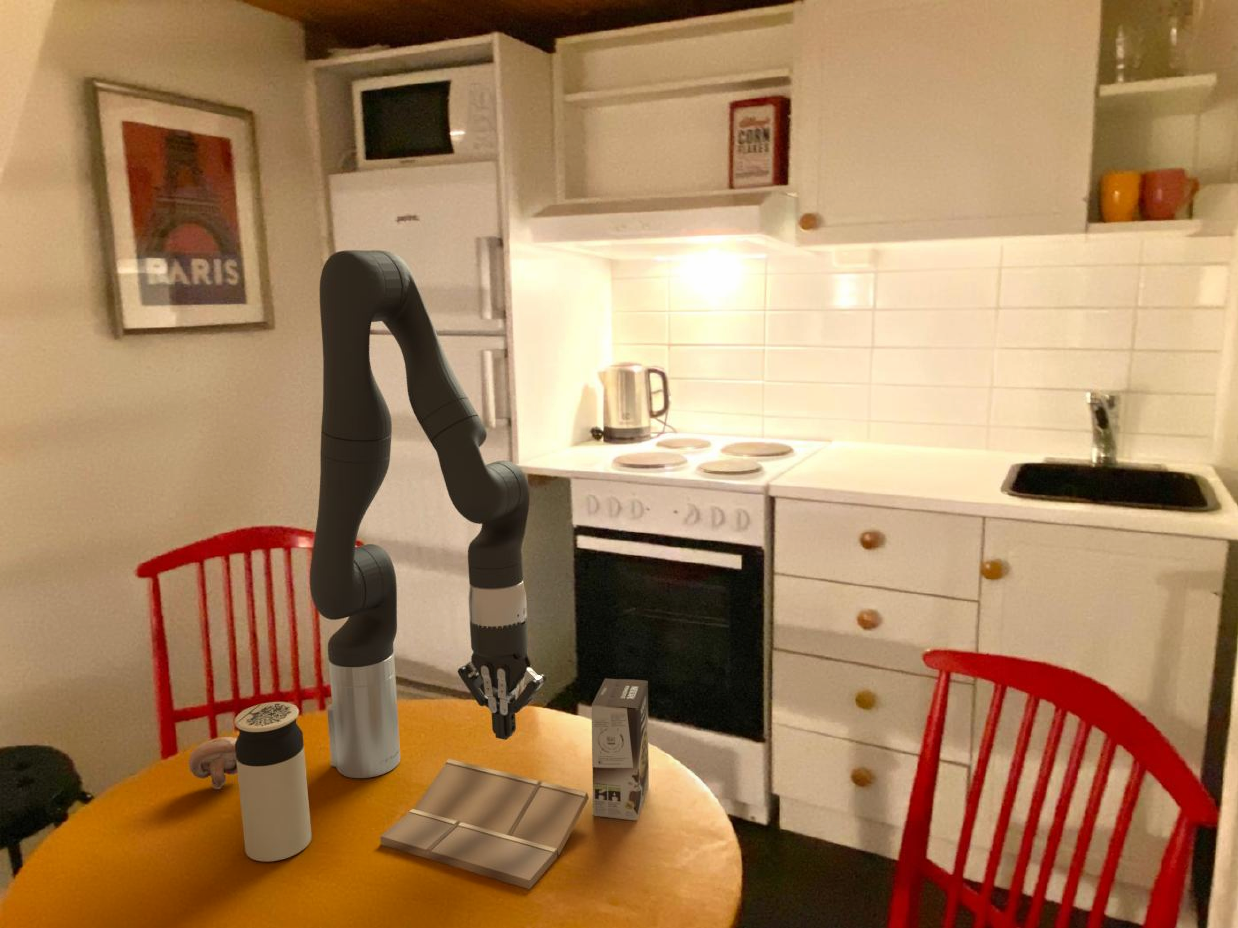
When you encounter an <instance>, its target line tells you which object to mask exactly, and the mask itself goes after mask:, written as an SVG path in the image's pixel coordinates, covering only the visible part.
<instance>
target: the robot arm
mask: <svg viewBox="0 0 1238 928" xmlns="http://www.w3.org/2000/svg"><path fill="white" fill-rule="evenodd" d="M319 279H320V280H319V311H320V314H319V315H320V324H321V339H322V356H323V357H322V359H323V360H322V361H323V362H322V363H323V368H322V370H323V371H322V373H323V374H322V375H323V377H322V378H323V379H322V385H323V386H322V390H323V391H322V413H321V414H322V416H321V426H320V427H321V428H320V429H321V430H320V432H321V433H320V452H319V453H320V455H319V456H320V457H319V458H320V460H319V461H320V463H319V464H320V474H319V475H320V476H319V493H318V494H319V495H318V509H317V518H316V525H315V526H316V528H315V533H314V540H313V548H312V552H311V553H312V554H311V560H310V568H309V588H310V595H311V599H312V603H313V605H314V608H316V610H317V612H318V613H319V614H320V615H321V616H322V617H324V618H325V619H328V620H330V621H331V620H333V621H335V620H342V619H345V618H347V619H346V621H345V622H344V623H343V624H342V626H341V627H340V628H338V629H337V631H335V632H334V633H333V634H332V635H331V636H330V638H329V639H328V643H327V658H328V669H329V672H328V673H329V680H330V681H329V682H330V683H329V684H330V695H331V703H330V704H328V706H327V708H326V713H327V714H326V715H327V724H328V725H327V726H328V736H329V738H328V739H329V748H330V749H329V750H330V751H329V752H330V764H331V766H332V767H334V768H336V769H337V771H338V773H340V775H343V776H344V777H348V778H354V779H369V778H373V777H378V776H381V775H384V774H386V773H388V772H390V771H392V770H394V769H395V768H396V767H397V766H398V765H399V764H400V762H401V748H400V747H401V746H400V727H399V713H398V712H399V711H398V700H397V699H398V698H397V695H398V694H397V683H396V668H395V665H396V664H395V651H394V642H395V639H396V635H397V634H398V633H397V632H398V587H397V586H398V585H397V576H396V571H395V566H394V564H393V561H392V559H391V557H390V555H389V554H388V552H387V551H386V550H385V549H384V548H383V547H381V546H379V545H378V544H373V543H367V544H362V545H359V546H356V544H357V538H358V533H359V530H360V526H361V523H362V521H363V520H364V517H365V515H366V513H367V511H368V509H369V507H370V506H371V504H372V502H373V501H374V499H375V497H376V496H377V493H378V492H379V491H380V488H381V486H382V484H383V482H384V480H385V478H386V475H387V474H388V470H389V466H390V462H391V448H392V447H391V446H392V433H393V429H392V424H393V422H392V417H391V413H390V409H389V407H388V404H387V401H386V400H385V398H384V395H383V393H382V391H381V389H380V386H379V385H378V383H377V381H376V379H375V376H374V374H373V369H372V366H371V360H370V358H371V357H370V344H371V343H370V342H371V341H370V340H371V339H370V338H371V337H370V336H371V328H372V323H376V322H377V323H378V322H382V324H384V326H385V327H386V328H387V329H388V330H389V332H390V333H391V335H392V337H394V339H395V341H396V342H397V344H398V346H399V349H400V352H401V354H402V357H403V362H404V368H405V375H406V376H405V378H406V388H407V396H408V400H409V403H410V406H411V409H412V412H413V414H414V417H415V418H416V420H417V421H418V423H419V425H420V426H421V428H422V430H423V432H424V434H425V436H426V437H427V439H428V441H429V442H430V443H431V445H432V447H433V448H434V450H435V451H436V453H437V454H436V455H437V458H438V463H439V465H440V466H439V467H440V471H441V475H442V477H443V481H444V483H445V487H446V490H447V493H448V494H447V495H448V496H449V499H450V501H451V503H452V505H453V506H454V509H456V510H457V512H458V513H459V514H460V515H461V516H462V517H463V518H464V519H466V520H467V521H468V522H471V523H473V524H476V525H481V528H480V531H479V533H478V534H477V535H476V537H474V538H473V539H472V540H471V541H470V543H469V545H468V549H467V564H468V565H467V567H468V582H469V583H468V585H469V587H468V615H469V632H470V633H469V634H470V635H469V636H470V647H471V650H472V651H473V652H472V655H471V657H470V660H471V661H469V662H467V663H465V664H464V665H463V666H461V667H459V668H457V674H458V676H459V677H460V679H461V680H462V682H463V684H464V685H465V687H466V688H467V689H468V691H469V692H470V694H471V695H472V696H473V698H474V700H475V701H476V702H477V705H479V706H480V707H486V708H488V710H489V712H491V724H492V725H491V727H492V732H493V734H494V735H495V738H496V739H500V740H504V741H506V740H508V739H509V738H510V737H511V736H513V734H514V733H515V732H516V729H517V727H516V723H517V722H516V714H518V712H520V711H521V710H522V709H524V708H525V707H527V706H528V705H529V703H530V702H531V701H532V699H534V697H535V696H536V694H537V693H538V691H540V689H541V688H542V687H543V686H544V684H545V683H546V681H547V677H546V675H545V674H543V673H540V674H538V673H536V672H535V670H533V668H532V665H531V664H532V662H531V659H530V658H529V655H528V648H529V630H528V607H527V594H526V589H525V584H524V583H525V582H524V567H523V553H522V551H523V543H524V537H525V534H526V530H527V529H526V527H527V522H528V518H529V517H528V516H529V510H530V501H531V498H530V497H531V493H530V487H529V486H530V485H529V482H528V479H527V477H526V475H525V473H524V471H523V470H522V469H521V467H520V466H519V465H518V464H516V463H514V462H513V461H509V460H499V461H498V460H497V461H493V462H491V463H488V464H486V463H485V460H484V459H483V456H482V452H481V449H480V447H482V445H483V444H484V443H485V442H486V440H487V436H488V435H487V430H486V428H485V425H484V423H483V421H482V419H481V417H479V414H478V412H477V411H476V409H475V408H474V406H473V404H472V402H471V401H470V399H469V397H468V396H467V394H466V393H465V391H464V390H463V389H464V388H463V387H462V385H461V384H460V382H459V380H458V378H457V377H456V374H455V373H454V370H453V369H452V366H451V365H450V363H449V360H448V358H447V357H446V353H445V352H444V351H445V350H444V349H443V347H442V344H441V342H440V339H439V336H438V335H437V331H436V329H435V326H434V323H433V321H432V318H431V317H430V315H429V313H428V308H427V306H426V304H425V301H424V299H423V297H422V293H421V292H420V289H419V287H418V285H417V282H416V279H415V277H414V275H413V273H412V271H411V269H410V268H409V266H408V265H407V263H406V262H405V261H404V260H403V258H402V257H400V256H398V254H396V253H394V252H391V251H389V250H388V251H386V250H378V249H377V250H374V249H373V250H357V249H356V250H355V249H353V250H347V249H346V250H340V251H336V252H334V253H333V254H332V255H330V256H329V257H328V259H326V260H325V263H324V265H323V267H322V269H321V274H320V278H319ZM523 679H524V681H523ZM521 681H523V687H524V689H523V690H522V691H521V693H520V694H519V695H518V693H519V691H520V683H521Z"/></svg>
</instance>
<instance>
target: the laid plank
mask: <svg viewBox="0 0 1238 928" xmlns="http://www.w3.org/2000/svg"><path fill="white" fill-rule="evenodd" d="M380 845H382V846H384V847H387V848H391V849H394V850H398V851H401V852H404V853H408V854H412V855H415V856H418V857H422V858H424V859H428V860H431V861H435V862H437V863H441V864H445V865H448V866H451V867H454V868H458V869H460V870H463V871H467V872H471V873H475V874H477V875H480V876H484V877H487V878H491V879H493V880H498V881H501V882H504V883H508V884H511V885H514V886H518V887H521V888H523V889H527V890H531V888H533V887H534V885H535V884H536V883H537V882H538V881H539V880H540V878H541V877H543V875H544V874H545V872H546V871H548V869H549V868H550V866H551V865H553V863H554V862H555V861H556V860H557V859H558V855H557V849H556V848H552V847H549V846H545V845H541V844H538V843H534V842H531V841H527V840H523V839H520V838H516V837H513V836H509V835H505V834H502V833H498V832H494V831H491V830H487V829H484V828H480V827H476V826H473V825H469V824H465V823H462V822H460V821H455V820H451V819H447V818H444V817H440V816H437V815H433V814H429V813H426V812H422V811H418V810H415V809H414V808H412V809H410V810H409V811H408V813H407V814H405V815H404V816H403V817H401V818H400V819H399V820H398V821H396V822H395V823H394V824H393V825H392V826H390V827H389V828H388V829H387V830H386V831H384V833H382V834H381V835H380Z"/></svg>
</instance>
